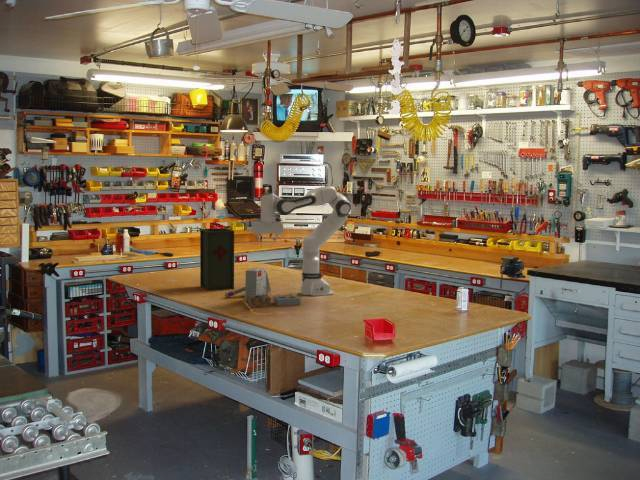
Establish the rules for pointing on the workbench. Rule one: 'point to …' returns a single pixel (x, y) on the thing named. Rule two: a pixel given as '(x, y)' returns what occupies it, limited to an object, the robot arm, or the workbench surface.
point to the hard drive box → (254, 281)
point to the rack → (259, 301)
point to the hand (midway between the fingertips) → (267, 240)
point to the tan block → (293, 294)
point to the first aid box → (217, 259)
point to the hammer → (244, 289)
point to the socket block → (286, 300)
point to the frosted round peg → (259, 290)
